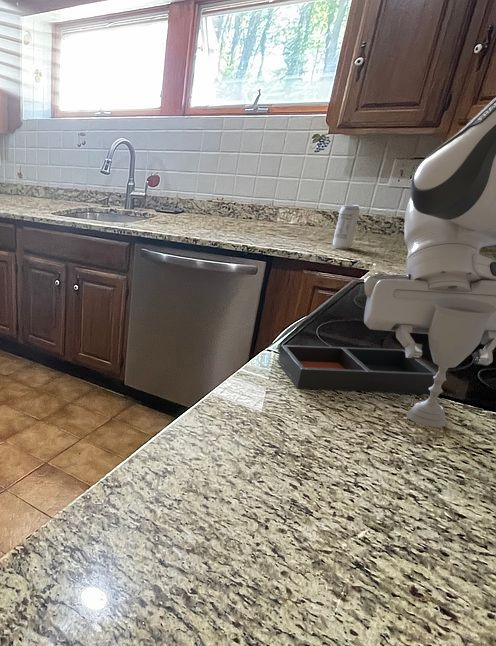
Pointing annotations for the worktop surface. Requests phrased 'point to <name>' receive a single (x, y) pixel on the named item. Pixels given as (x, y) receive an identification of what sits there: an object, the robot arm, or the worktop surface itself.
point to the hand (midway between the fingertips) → (448, 360)
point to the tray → (355, 369)
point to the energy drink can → (346, 226)
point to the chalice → (450, 348)
